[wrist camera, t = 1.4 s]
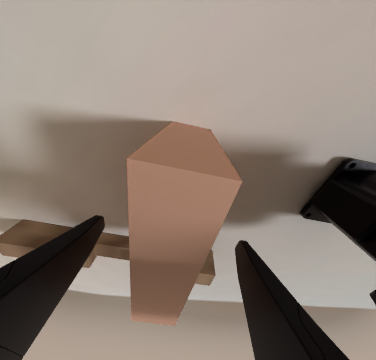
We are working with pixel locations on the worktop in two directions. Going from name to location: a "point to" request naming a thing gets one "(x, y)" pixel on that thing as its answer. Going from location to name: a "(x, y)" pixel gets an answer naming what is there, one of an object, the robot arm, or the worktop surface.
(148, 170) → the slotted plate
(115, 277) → the worktop surface
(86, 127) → the worktop surface
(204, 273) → the brown rail
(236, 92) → the worktop surface
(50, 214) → the worktop surface
